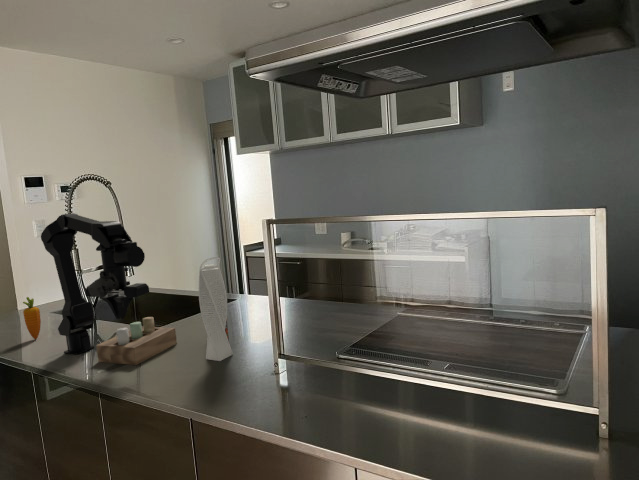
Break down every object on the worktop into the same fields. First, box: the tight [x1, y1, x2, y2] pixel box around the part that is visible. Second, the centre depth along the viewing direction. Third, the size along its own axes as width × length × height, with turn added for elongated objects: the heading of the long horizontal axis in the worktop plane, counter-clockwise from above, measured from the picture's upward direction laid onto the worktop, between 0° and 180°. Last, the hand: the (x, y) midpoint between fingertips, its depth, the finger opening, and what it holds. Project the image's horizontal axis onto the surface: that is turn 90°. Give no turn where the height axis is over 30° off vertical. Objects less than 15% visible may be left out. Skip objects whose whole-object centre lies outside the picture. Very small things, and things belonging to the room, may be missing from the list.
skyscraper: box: [198, 256, 234, 362], centre depth 141 cm, size 8×8×28 cm
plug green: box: [129, 321, 143, 339], centre depth 151 cm, size 3×3×6 cm
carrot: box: [22, 296, 42, 340], centre depth 175 cm, size 5×5×15 cm
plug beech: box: [142, 316, 156, 333], centre depth 156 cm, size 3×3×6 cm
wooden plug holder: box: [95, 326, 178, 366], centre depth 152 cm, size 14×18×5 cm
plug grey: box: [116, 327, 130, 345], centre depth 146 cm, size 3×3×6 cm
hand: (120, 319), depth 146 cm, fingers closed
